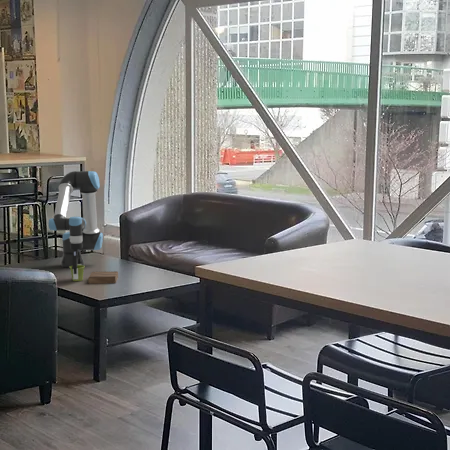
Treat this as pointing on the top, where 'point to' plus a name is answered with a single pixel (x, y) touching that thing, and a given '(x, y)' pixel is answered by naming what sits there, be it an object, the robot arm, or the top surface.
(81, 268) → the plant pot
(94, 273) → the walnut plinth
